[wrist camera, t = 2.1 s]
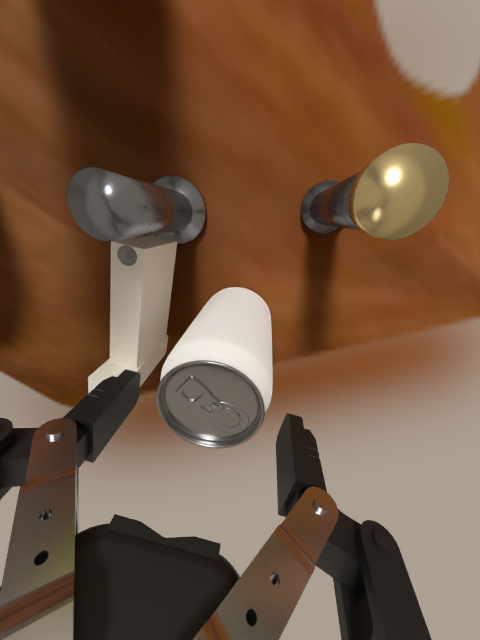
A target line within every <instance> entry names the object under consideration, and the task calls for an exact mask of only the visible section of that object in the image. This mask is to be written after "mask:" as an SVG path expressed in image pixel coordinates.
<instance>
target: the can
mask: <svg viewBox="0 0 480 640" xmlns="http://www.w3.org/2000/svg"><path fill="white" fill-rule="evenodd" d="M272 372H273V370H272V328H271V315H270V311H269V308H268V306H267V304H266V303H265V301H264V300H263V299H262V298H261V297H260V296H259V295H257V294H256V293H254V292H253V291H251V290H248V289H245V288H240V287H231V288H226V289H223V290H221V291H219V292H217V293H216V294H215V295H213V296H212V297H211V298H210V299H209V301H208V302H207V303H206V305H205V306H204V307H203V309H202V310H201V311H200V313H199V314H198V315H197V317H196V318H195V319H194V321H193V322H192V323H191V325H190V326H189V328H188V329H187V330H186V332H185V333H184V334H183V336H182V337H181V339H180V340H179V341H178V343H177V344H176V346H175V347H174V348H173V350H172V351H171V353H170V354H169V356H168V357H167V359H166V361H165V363H164V365H163V368H162V371H161V378H160V383H159V385H158V388H157V391H156V405H157V409H158V412H159V414H160V416H161V418H162V420H163V421H164V423H165V424H166V425H167V426H168V428H170V429H171V430H172V431H173V432H174V433H175V434H176V435H178V436H179V437H181V438H182V439H184V440H186V441H188V442H190V443H193V444H196V445H199V446H202V447H208V448H228V447H233V446H237V445H239V444H242V443H244V442H246V441H248V440H249V439H250V438H252V437H253V436H254V435H255V434H256V433H257V432H258V430H259V429H260V427H261V425H262V423H263V419H264V414H265V412H266V410H267V409H268V407H269V404H270V401H271V396H272V386H273V374H272Z"/></svg>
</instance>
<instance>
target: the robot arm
mask: <svg viewBox="0 0 480 640" xmlns="http://www.w3.org/2000/svg"><path fill="white" fill-rule="evenodd" d="M140 377H141V374H140V373H139V372H135V371H131V370H128V369H125V370H124V371H123V372H122V373H121V374H120V375H119V376H118V377H114V376H111V377H109V378H107V379H105V380H103V381H101V382H100V383H99V384H98V385H97V386H96V387H95V388H94V389H93V390H92V391H91V392H90V393H89V394H88V395H86V396H85V397H84V398H83V399H82V400H81V401H80V402H79V403H78V404H77V405H76V406H75V407H74V408H73V409H72V410H71V411H70V412H69V413H67V414H66V415H65V416H64V417H63V418H60V419H54V420H51V421H49V422H46V423H45V424H43V425H41V426H40V427H39V428H13V425H12V422H11V421H10V420H8V419H5V418H0V500H1V499H2V497H3V496H4V495H5V494H6V493H7V492H8V491H9V490H10V489H11V487H15V486H21V487H20V490H19V495H18V501H17V506H16V511H15V516H14V522H13V527H12V532H11V538H10V543H9V548H8V554H7V559H6V565H5V570H4V575H3V580H2V586H1V587H0V640H279V639H280V637H281V634H282V633H283V631H284V629H285V627H286V625H287V623H288V621H289V619H290V617H291V615H292V613H293V611H294V609H295V607H296V605H297V603H298V601H299V599H300V597H301V595H302V593H303V591H304V589H305V587H306V585H307V583H308V581H309V579H310V577H311V575H312V573H313V571H314V569H315V565H316V566H317V567H319V568H320V569H322V570H323V571H324V572H326V573H327V574H329V575H330V576H331V577H333V581H334V588H335V595H336V602H337V610H338V617H339V624H340V632H341V638H342V640H431V637H430V634H429V631H428V628H427V626H426V623H425V620H424V617H423V614H422V612H421V609H420V606H419V603H418V600H417V597H416V595H415V592H414V589H413V586H412V583H411V581H410V578H409V575H408V572H407V570H406V567H405V564H404V561H403V558H402V555H401V553H400V550H399V547H398V545H397V543H396V541H395V540H394V538H393V537H392V535H391V534H390V533H389V532H388V531H387V530H386V529H385V528H384V527H383V526H382V525H380V524H379V523H377V522H375V521H371V520H367V521H364V522H363V523H362V524H359V523H358V522H356V521H354V520H353V519H351V518H349V517H348V516H346V515H345V514H343V513H342V512H341V511H340V510H338V508H337V505H336V503H335V501H334V500H333V498H332V497H331V496H330V495H329V494H328V493H327V490H326V486H325V481H324V476H323V472H322V467H321V462H320V459H319V453H318V451H317V450H318V448H317V444H316V440H315V438H314V436H313V435H312V433H311V432H310V430H308V429H304V426H303V420H302V418H301V417H299V416H296V415H292V414H286V416H285V419H284V421H283V423H282V426H281V428H280V431H279V433H278V436H277V442H276V458H277V490H278V491H277V492H278V515H281V516H284V517H286V518H285V520H284V521H283V522H282V524H281V525H279V526H278V527H277V528H276V529H275V531H274V532H273V533H272V535H271V536H270V538H269V539H268V540H267V542H266V543H265V544H264V546H263V547H262V548H261V550H260V551H259V553H258V554H257V555H256V556H255V558H254V559H253V561H252V562H251V563H250V565H249V566H248V567H247V569H246V570H245V572H244V573H243V574H242V576H241V577H239V575H238V573H237V572H236V570H235V569H234V567H233V566H232V565H231V564H230V563H229V561H227V560H226V559H225V558H224V557H223V556H221V555H220V554H219V550H220V544H219V543H216V542H212V541H208V540H205V539H201V538H198V537H176V538H164V537H162V536H161V535H159V534H158V533H156V532H155V531H154V530H152V529H151V528H149V527H148V526H146V525H145V524H143V523H142V522H140V521H137V520H133V519H129V518H126V517H123V516H119V515H114V517H113V519H112V521H111V522H110V524H102V525H97V526H94V527H91V528H89V529H86V530H84V531H82V532H80V533H79V521H78V520H79V518H78V481H79V480H78V476H79V470H78V468H79V467H80V466H81V464H82V463H83V462H84V461H85V460H86V461H90V462H94V461H95V460H96V458H97V457H98V455H99V454H100V453H101V451H102V450H103V449H104V447H105V446H106V444H107V443H108V442H109V440H110V439H111V438H112V436H113V435H114V434H115V432H116V431H117V430H118V428H119V427H120V425H121V424H122V423H123V421H124V420H125V418H126V417H127V416H128V415H129V413H130V412H131V411H132V409H133V408H134V406H135V405H136V402H137V400H138V397H139V388H140Z"/></svg>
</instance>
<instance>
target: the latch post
mask: <svg viewBox="0 0 480 640" xmlns="http://www.w3.org/2000/svg"><path fill="white" fill-rule="evenodd" d="M448 184H449V175H448V169H447V166H446V163H445V161H444V159H443V158H442V156H441V155H440V154H439V153H438V152H437V151H436V150H434V149H433V148H431V147H429V146H427V145H424V144H418V143H409V144H403V145H399V146H396V147H394V148H392V149H390V150H388V151H386V152H384V153H383V154H381V155H379V156H377V157H376V158H374V159H373V160H371V161H370V162H369V163H368V164H367V165H366V166H364V168H363V169H362V170H361V171H360V172H359V173H357V174H355V175H353V176H351V177H349V178H347V179H345V180H343V181H341V182H336V181H324V182H321V183H318V184H317V185H315V186H314V187H312V188H311V189H310V190H309V191H308V192H307V194H306V195H305V197H304V199H303V201H302V205H301V217H302V220H303V222H304V224H305V225H306V226H307V227H308V228H309V229H310V230H312V231H314V232H317V233H329V232H332V231H334V230H336V229H338V228H339V227H343V228H351V229H358V230H360V231H361V232H362V233H364V234H366V235H368V236H371V237H376V238H382V239H399V238H404V237H407V236H409V235H411V234H414V233H415V232H417V231H419V230H420V229H422V228H423V227H424V226H426V225H427V224H428V223H429V222H430V221H431V220H432V219H433V218H434V217H435V215H436V214H437V213H438V211H439V210H440V208H441V206H442V204H443V202H444V200H445V197H446V194H447V190H448Z"/></svg>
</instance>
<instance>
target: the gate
mask: <svg viewBox="0 0 480 640" xmlns="http://www.w3.org/2000/svg"><path fill="white" fill-rule="evenodd" d="M176 249H177V241H174V240H170V239H167V238H163V237H159V236H155V235H149V236H142V237H136V238H129V239H122V240H115V241H111V289H110V358H109V359H108V360H107V361H106V362H105V363H104V364H103V365H101V366H100V367H99V368H98V369H97V370H96V371H95V372H94V373H92V374H91V375H90V376H89V377H88V392H89V393H90V392H91V391H92V390H93V389H94V388H95V387H96V386H97V385H98V384H99V383H100V382H101V381H103V380H105V379H107V378H109V377H111V376H114V377H118V376H119V375H120V374H121V373H122V372H123V371H124V370H125V369H128V370H131V371H135V372H139V373H140V374H141V377H140V387H141V385H142V384H143V383H144V381H145V380H146V379H147V377H148V376H149V375H150V374H151V372H152V371H153V370H154V368H155V367H156V366H157V364H158V363H159V362H160V360H161V359H162V358H163V356H164V355H165V354H166V350H167V342H168V335H166V333H167V324H168V316H169V308H170V299H171V291H172V282H173V274H174V266H175V257H176Z"/></svg>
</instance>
